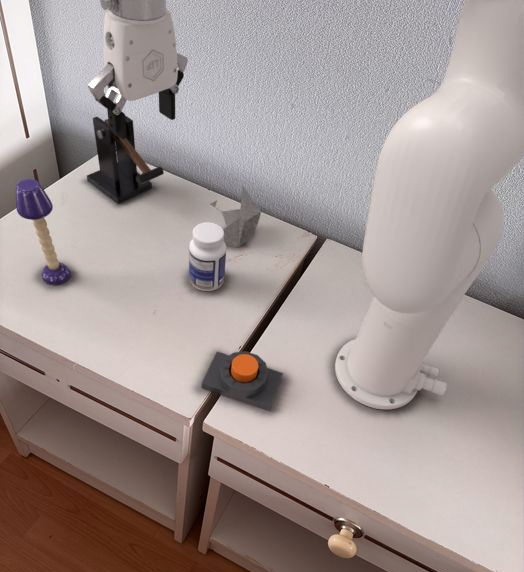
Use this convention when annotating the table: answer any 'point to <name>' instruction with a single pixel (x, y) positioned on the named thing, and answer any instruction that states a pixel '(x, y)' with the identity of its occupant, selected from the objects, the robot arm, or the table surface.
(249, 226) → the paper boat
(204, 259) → the pill bottle
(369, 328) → the robot arm
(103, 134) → the bracket
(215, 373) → the button box
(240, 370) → the button
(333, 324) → the table surface
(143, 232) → the table surface
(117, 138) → the lever
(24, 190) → the toy lamp
